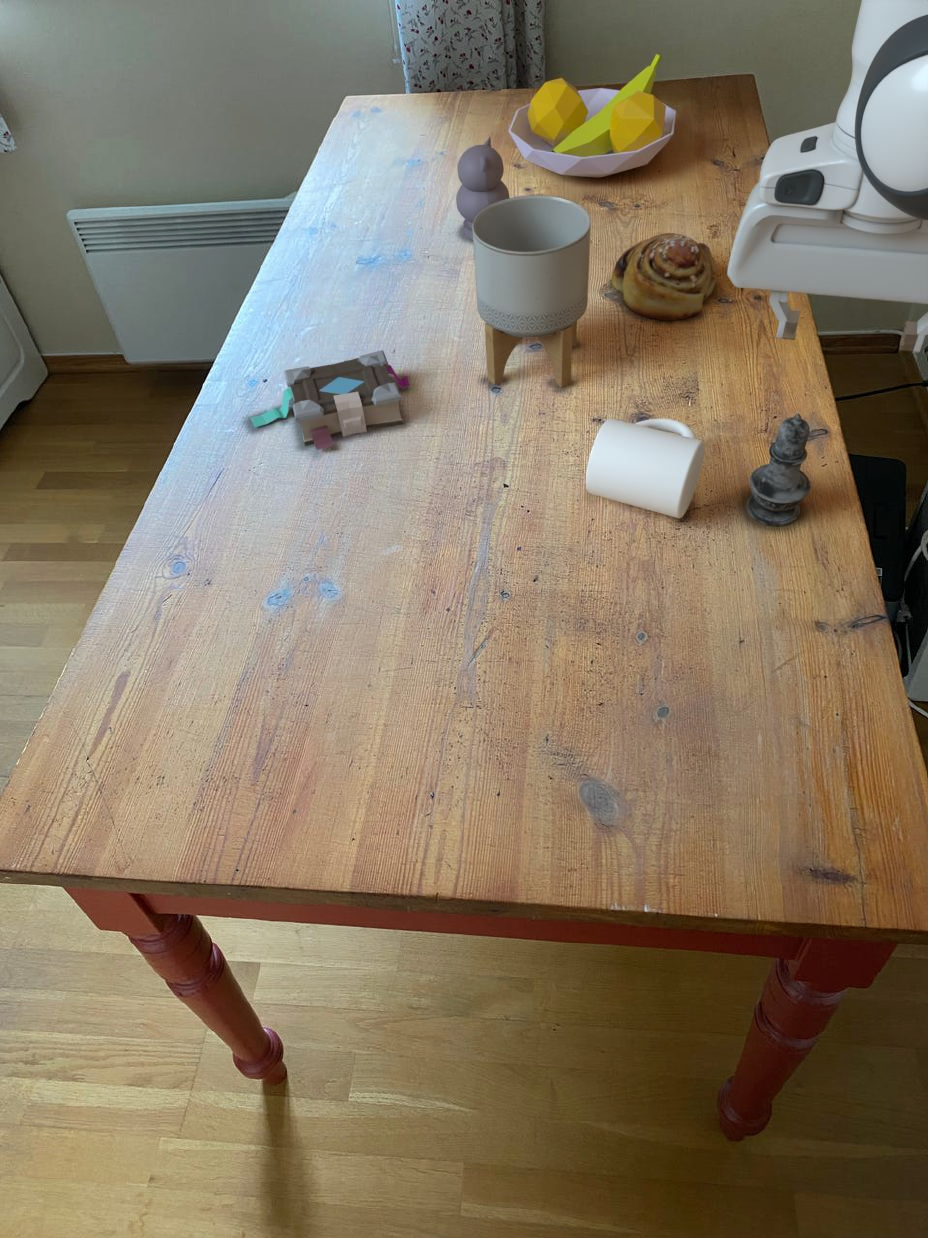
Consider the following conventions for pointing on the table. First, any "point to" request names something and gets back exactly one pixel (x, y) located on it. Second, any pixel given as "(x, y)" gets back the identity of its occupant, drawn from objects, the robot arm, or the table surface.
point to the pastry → (666, 276)
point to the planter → (531, 277)
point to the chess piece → (781, 477)
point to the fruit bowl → (593, 127)
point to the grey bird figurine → (479, 183)
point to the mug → (646, 464)
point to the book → (340, 398)
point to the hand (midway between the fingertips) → (846, 341)
